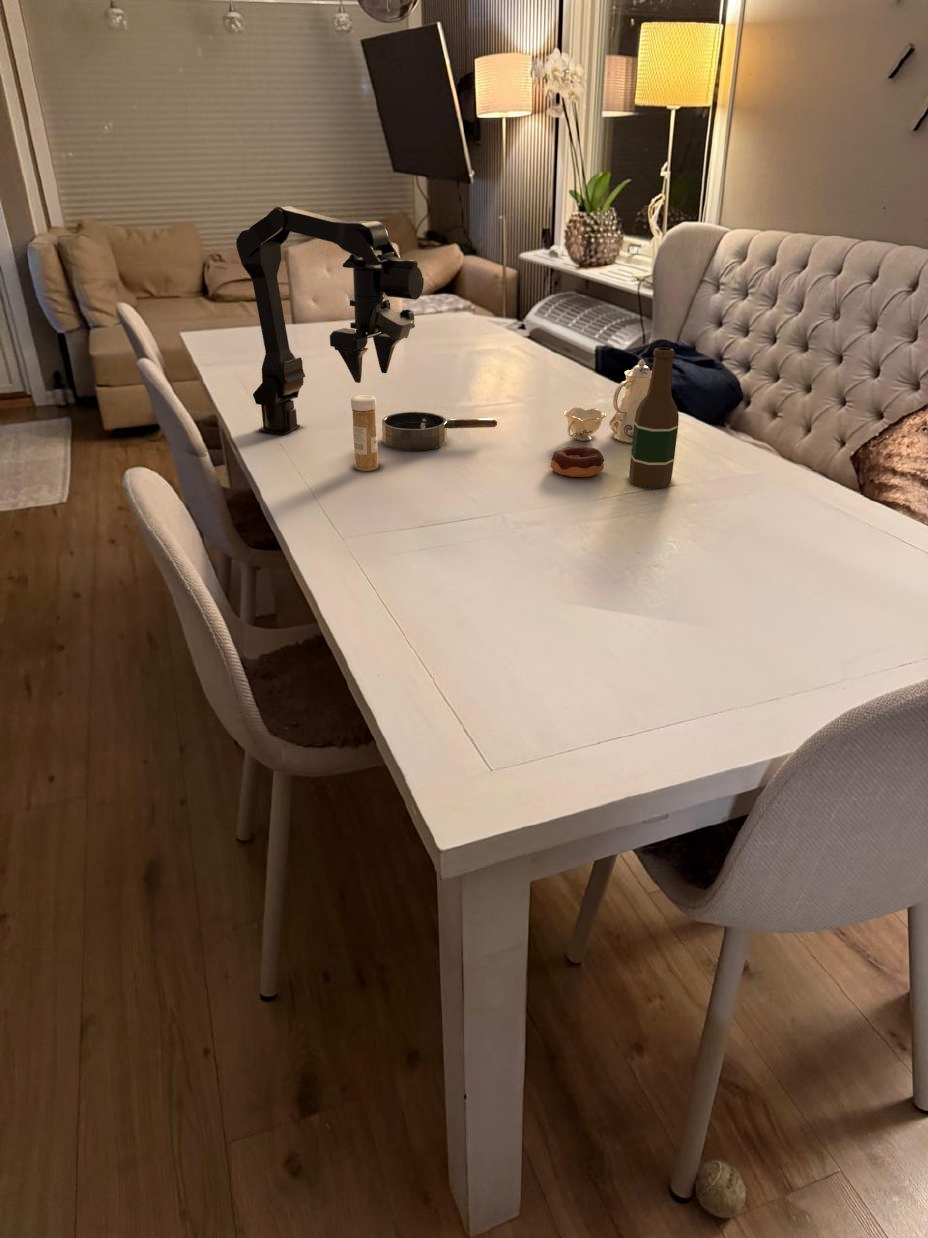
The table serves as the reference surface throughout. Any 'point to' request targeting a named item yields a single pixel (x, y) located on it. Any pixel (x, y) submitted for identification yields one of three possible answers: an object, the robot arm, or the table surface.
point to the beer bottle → (655, 427)
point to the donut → (577, 461)
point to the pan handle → (471, 423)
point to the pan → (414, 431)
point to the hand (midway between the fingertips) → (371, 377)
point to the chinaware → (624, 418)
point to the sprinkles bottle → (364, 432)
